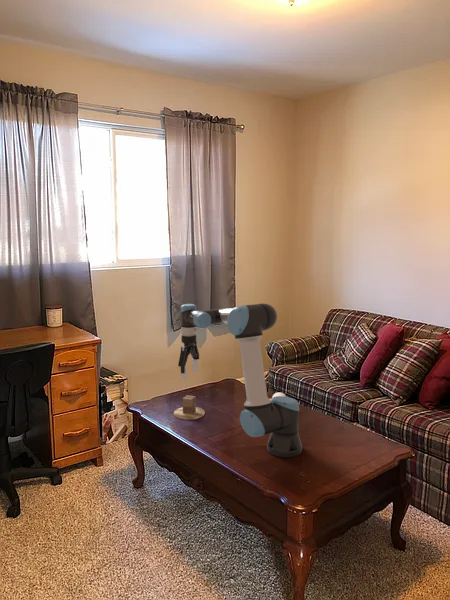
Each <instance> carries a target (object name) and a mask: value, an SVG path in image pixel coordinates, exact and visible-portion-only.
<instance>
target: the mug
mask: <svg viewBox="0 0 450 600" xmlns="http://www.w3.org/2000/svg"><path fill="white" fill-rule="evenodd" d="M275 396H284V397H287V395H286V394H285V393H284V392H275V393H274V394H273V395H272V397H271V398H269V399H270V400H272V398H273V397H275Z"/></svg>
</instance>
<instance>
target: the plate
mask: <svg viewBox="0 0 450 600" xmlns="http://www.w3.org/2000/svg"><path fill="white" fill-rule="evenodd" d="M205 414H206V412H205V410H204V409H203V408H201V407H197V406H196V411H195V412H194V413H193V414H192V415H191V414H185V413H183V406H182V407H179V408H176V409H175V410H174V412H173V416H174V417H175V418H177V420H178V419H179V420H185V421H193V420H198V419H202V418H203V417H204V416H205Z"/></svg>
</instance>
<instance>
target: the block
mask: <svg viewBox="0 0 450 600" xmlns="http://www.w3.org/2000/svg"><path fill="white" fill-rule="evenodd" d="M196 399H197V398H196V396H194V395H188V394H187V395H185V396H184V397H182V407H183V413H185V414H191V415H192V414H193V413H194V412H195V411H196V407H197V404H196V403H197V402H196Z"/></svg>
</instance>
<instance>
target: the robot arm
mask: <svg viewBox="0 0 450 600" xmlns="http://www.w3.org/2000/svg"><path fill="white" fill-rule="evenodd" d="M180 307H181V308H180V324H181V325H180V326H181V327H180V328H181V330H180V331H181V335H180V336H181V338H180V339H181V343H182V344H184V345H183V346H180V354H179V360H178V363H177V364H178V365H177V366H178V367H179V368H180V380H187V366H186V364H187V362H188V358H189V356H190V355H191V358H192V359H191V372H193V373H198V360H199V359H200V353H199V348H198V345H197V344H198V343H197V330H198V329H197V328H202V329H205V328H208V327H209V326H214V325H222V324H223V325H226V324H227V329H228V330H229V333H230V334H231V335H233V336H234V339H235V341H237V342H238V343H239V350H240V357H241V364H242V372H243V380H244V386H245V387H244V389H245V393H246V394H245V395H246V401H245V402H244V404H243V407H244V409H243V410H242V411H241V412H240V414H239V422H240V424H241V425H240V426H241V427H242V429H243V431H244V432H245V434H247V435H248V436H249V437H251V438H257V437H264V436H265V435H268V434H269V437H268V440H267V443H266V446H267V447H266V450H267V452H268V453H269V454H270V455H272V456H275V457H281V458H294V457H297V456H299V455H301V454H302V452H303V444H302V441H301V438H300V435H299V426H300V425H299V424H300V423H299V422H300V404H299V403H300V402H298V400H296V399H295V398H292V397H289V396H286V397H284V396H275V397H273V396H272V397H273V398H272V397H271V398H269V396H268V392H267V391H268V390H267V385H266V384H267V383H266V377H265V369H264V362H263V353H262V348H261V347H262V346H261V339H262V337H263V332H265V331H267V330H271V329H272V328H273V327H274V326H275V324H277V323H276V322H277V321H278V313H277V311H276V309H275V307H274V306H272V305H271V304H268V303H257V304H256V303H253V304H246V305H244V304H243V305H239V306H235V307H231V308H229V307H221V308H214V309H206V310H205V309H204V310H197V305H196V304H194V303H185V304H182V305H181V306H180ZM270 399H272V400H270Z"/></svg>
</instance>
